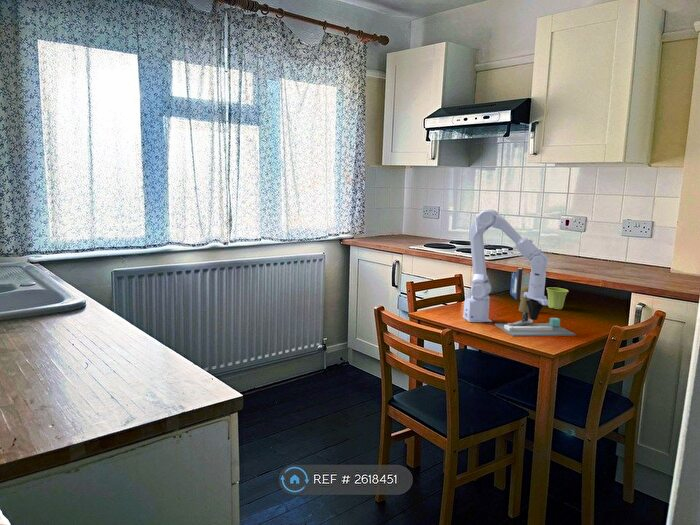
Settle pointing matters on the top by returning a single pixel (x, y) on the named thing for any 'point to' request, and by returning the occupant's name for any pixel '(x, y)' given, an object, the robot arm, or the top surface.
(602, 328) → the top surface
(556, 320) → the teal block
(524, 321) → the black knobbed slide plate
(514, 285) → the protein box
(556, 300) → the plant pot
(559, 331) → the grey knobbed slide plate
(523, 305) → the olive tapered shaker
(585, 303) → the top surface
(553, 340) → the top surface
